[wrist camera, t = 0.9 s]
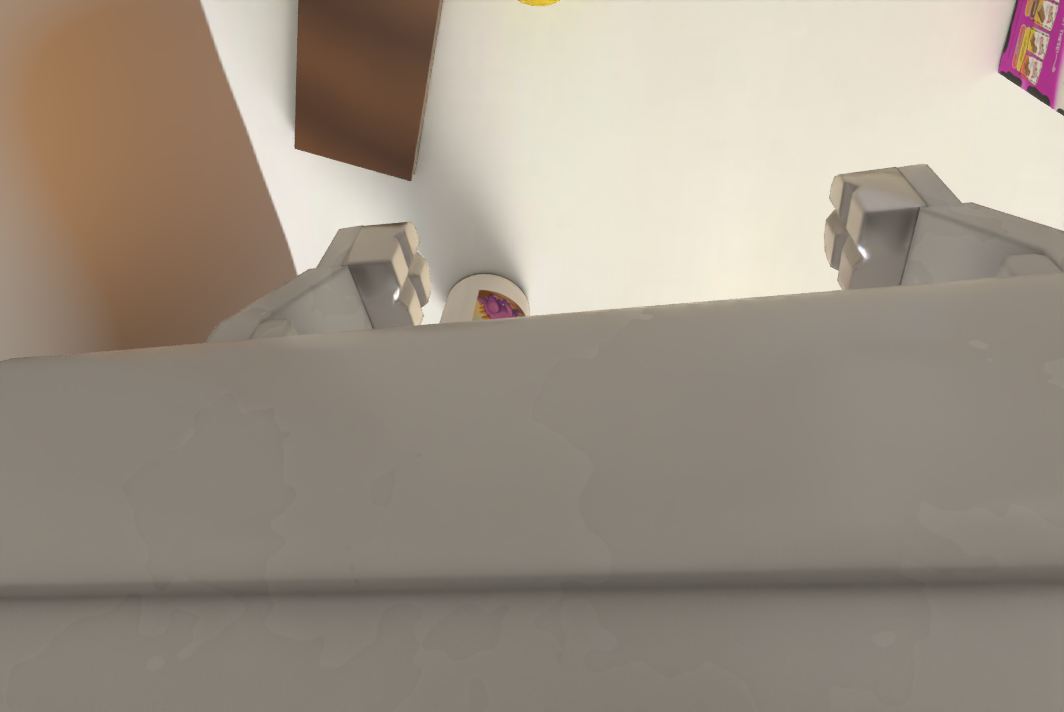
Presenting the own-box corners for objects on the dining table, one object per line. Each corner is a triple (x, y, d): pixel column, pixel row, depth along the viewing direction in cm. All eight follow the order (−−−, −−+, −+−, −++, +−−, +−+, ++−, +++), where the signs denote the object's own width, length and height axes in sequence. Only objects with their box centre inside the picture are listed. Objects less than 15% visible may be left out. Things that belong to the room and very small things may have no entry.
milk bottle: (469, 346, 63) (429, 521, 48) (432, 284, 59) (375, 456, 44) (543, 326, 61) (525, 504, 46) (510, 260, 56) (479, 433, 41)
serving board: (313, -228, 36) (304, -228, 35) (470, -172, 37) (467, -170, 36) (300, 140, 50) (294, 148, 49) (415, 172, 52) (411, 181, 50)
